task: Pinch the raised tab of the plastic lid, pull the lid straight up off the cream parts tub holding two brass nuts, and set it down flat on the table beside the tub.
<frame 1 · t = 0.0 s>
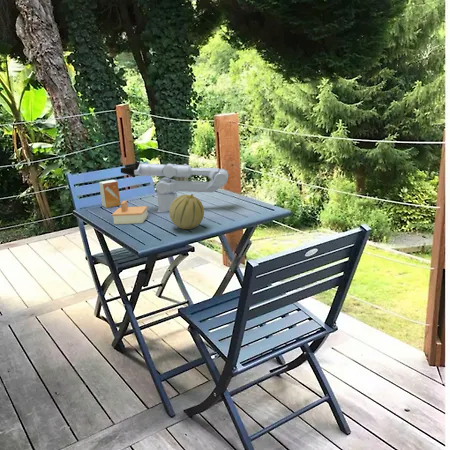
hand: (123, 168, 224), 22 cm above the table, tool horizontal, fingers open, 7 cm apart
nut a: (137, 218, 216), point 1 cm above the table, touching tub
tub: (131, 221, 215), on the table
lid: (130, 211, 213), point 4 cm above the table, touching tub
small box: (111, 206, 245), on the table
nut b: (124, 221, 212), point 1 cm above the table, touching tub
cantaloupe: (188, 228, 199), on the table
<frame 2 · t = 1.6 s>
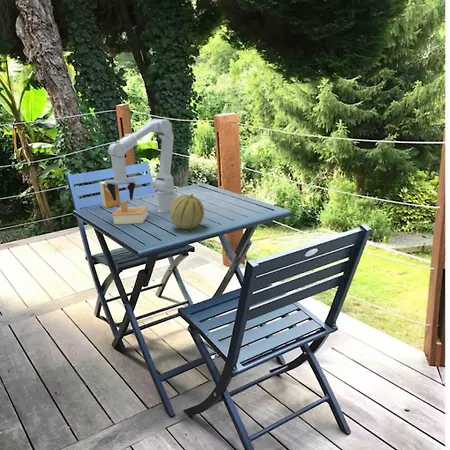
hand: (123, 199, 212), 10 cm above the table, tool pointing down, fingers open, 7 cm apart
nothing on the table moved.
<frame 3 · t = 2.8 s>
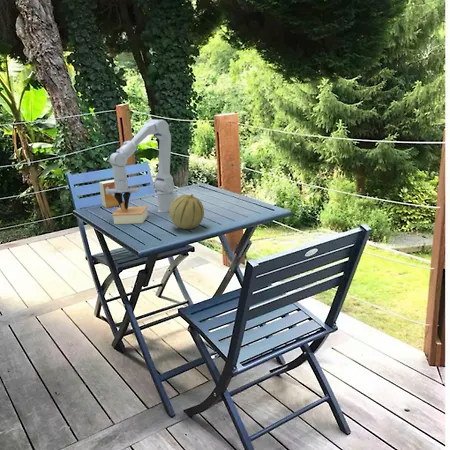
hand: (124, 208, 213), 6 cm above the table, tool pointing down, fingers closed on lid
lid: (130, 211, 213), point 4 cm above the table, touching gripper, tub
everything else where it was.
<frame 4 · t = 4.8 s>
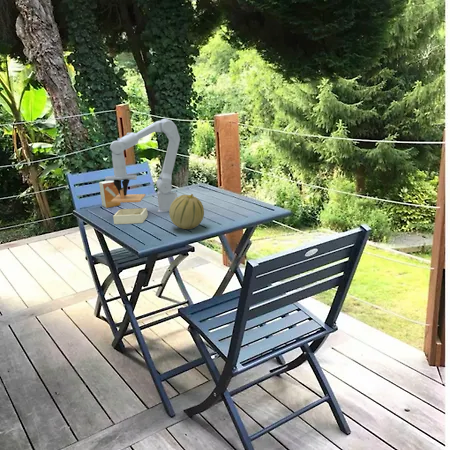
hand: (123, 195, 221), 10 cm above the table, tool pointing down, fingers closed on lid
lid: (128, 198, 221), point 8 cm above the table, touching gripper
everything else where it was.
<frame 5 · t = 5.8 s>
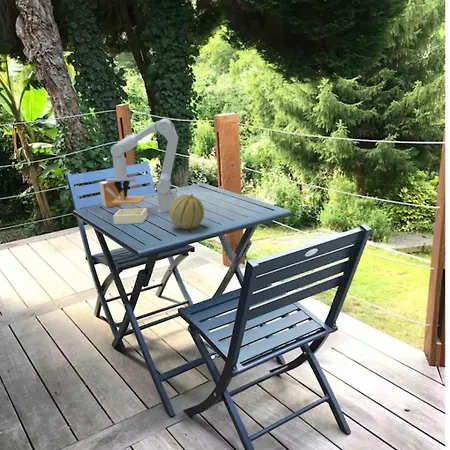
hand: (123, 196, 226), 8 cm above the table, tool pointing down, fingers closed on lid
lid: (129, 200, 227), point 6 cm above the table, touching gripper
everything else where it was.
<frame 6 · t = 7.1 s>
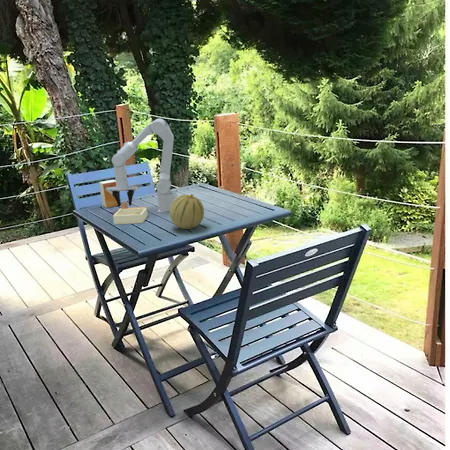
hand: (125, 205, 228), 4 cm above the table, tool pointing down, fingers open, 5 cm apart
lid: (130, 212, 229), on the table
everything else where it was.
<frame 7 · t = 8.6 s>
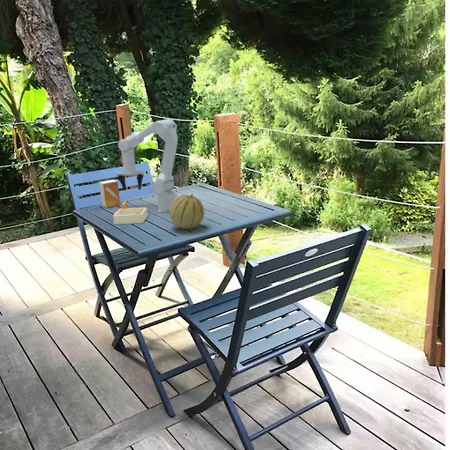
hand: (132, 189, 235), 9 cm above the table, tool pointing down, fingers open, 7 cm apart
nothing on the table moved.
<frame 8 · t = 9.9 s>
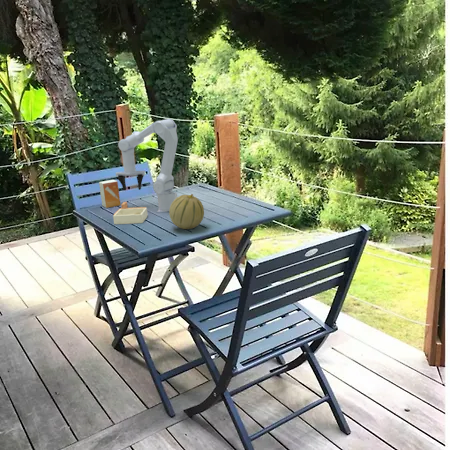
hand: (132, 189, 235), 9 cm above the table, tool pointing down, fingers open, 7 cm apart
nothing on the table moved.
at the end: lid inside the target area (0.3 cm from its centre), on the table; lid tilted 0° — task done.
